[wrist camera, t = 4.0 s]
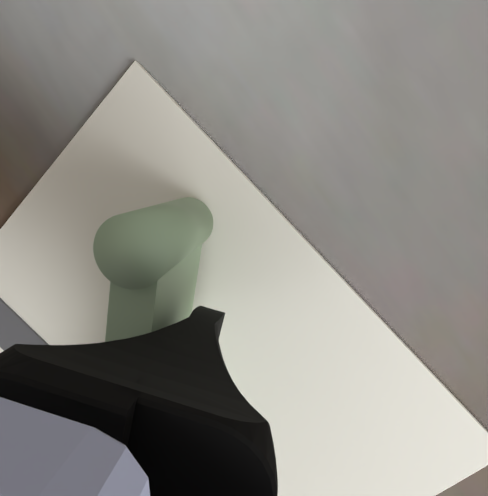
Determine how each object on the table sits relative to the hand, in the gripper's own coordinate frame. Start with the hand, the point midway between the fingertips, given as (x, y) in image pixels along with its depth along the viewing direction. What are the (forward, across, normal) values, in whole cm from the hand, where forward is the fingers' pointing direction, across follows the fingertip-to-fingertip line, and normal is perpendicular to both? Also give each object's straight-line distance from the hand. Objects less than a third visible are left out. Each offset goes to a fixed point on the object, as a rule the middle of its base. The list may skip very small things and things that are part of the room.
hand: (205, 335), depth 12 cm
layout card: (+3, +2, +6) cm, 7 cm away
